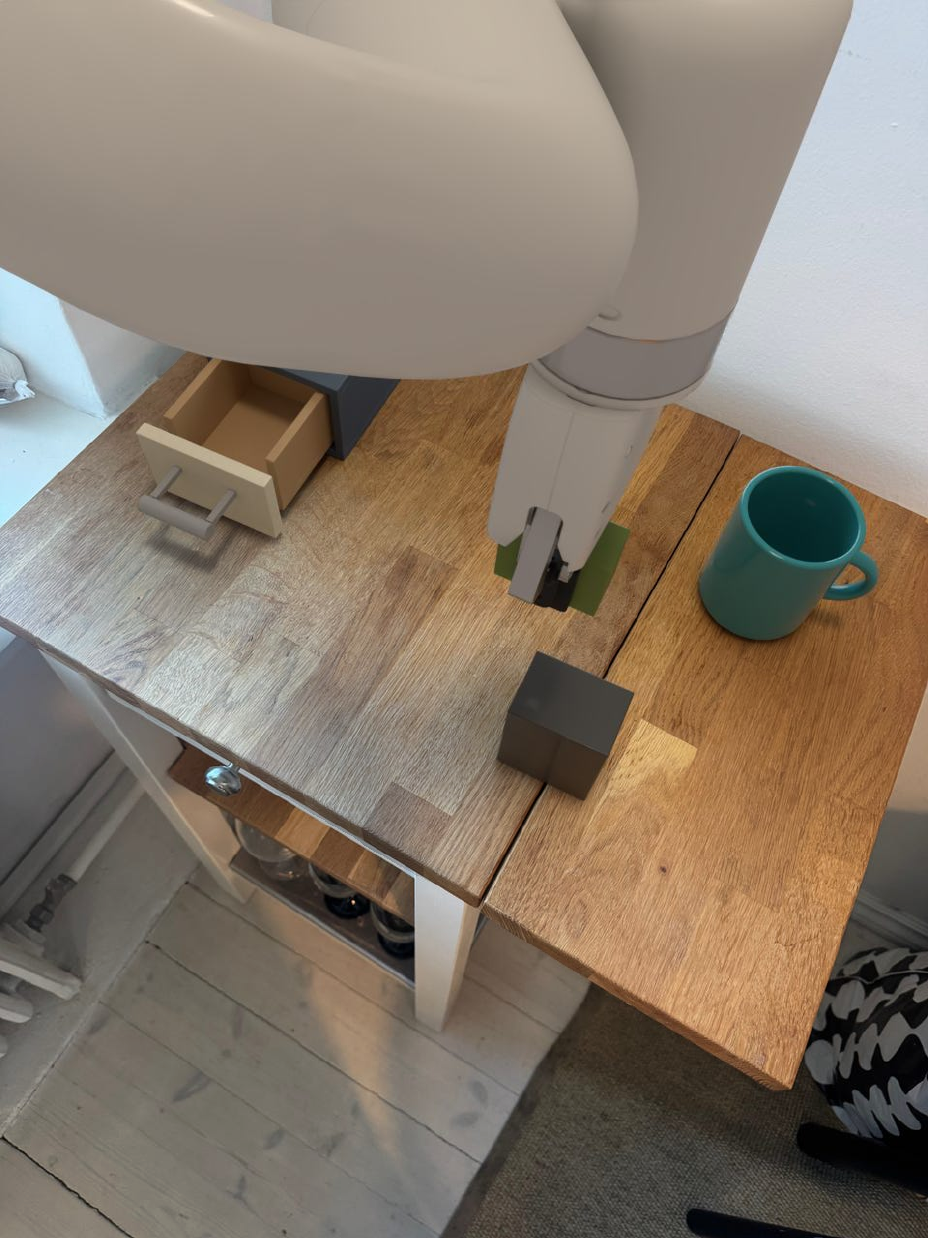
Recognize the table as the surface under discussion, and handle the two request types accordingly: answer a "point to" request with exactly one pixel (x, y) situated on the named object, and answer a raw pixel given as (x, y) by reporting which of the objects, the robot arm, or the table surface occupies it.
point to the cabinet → (344, 402)
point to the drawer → (236, 447)
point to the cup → (785, 553)
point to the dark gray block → (562, 724)
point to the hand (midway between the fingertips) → (554, 570)
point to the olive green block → (592, 574)
